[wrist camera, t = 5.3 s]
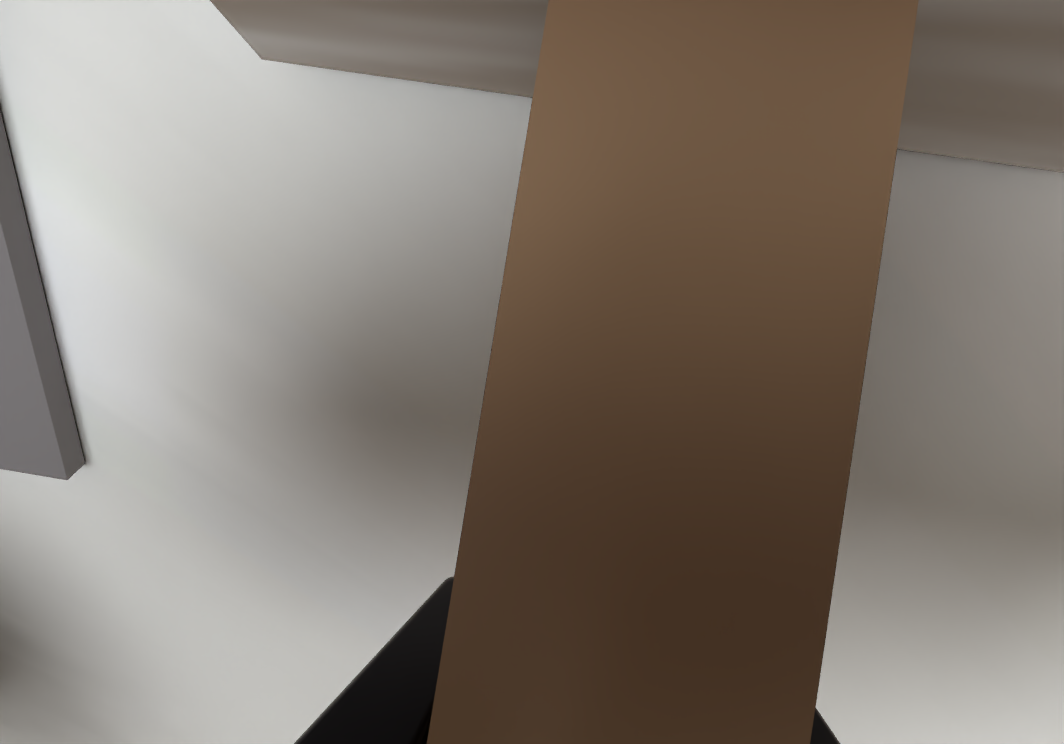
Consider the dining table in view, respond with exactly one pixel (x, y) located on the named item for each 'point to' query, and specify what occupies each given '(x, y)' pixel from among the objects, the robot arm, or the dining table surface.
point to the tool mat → (29, 352)
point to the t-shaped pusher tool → (680, 327)
